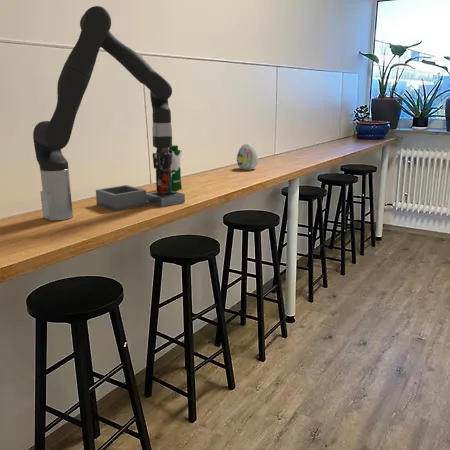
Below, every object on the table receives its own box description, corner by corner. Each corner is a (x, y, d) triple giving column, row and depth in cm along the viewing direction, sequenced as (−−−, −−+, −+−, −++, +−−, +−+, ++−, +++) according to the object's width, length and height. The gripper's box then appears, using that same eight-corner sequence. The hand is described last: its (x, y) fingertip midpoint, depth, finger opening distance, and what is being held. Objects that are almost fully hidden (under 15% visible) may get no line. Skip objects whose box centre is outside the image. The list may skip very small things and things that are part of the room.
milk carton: (172, 192, 200) (171, 147, 195) (157, 190, 205) (155, 145, 199) (184, 189, 208) (183, 145, 202) (168, 186, 212) (167, 144, 206)
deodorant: (173, 190, 183) (172, 153, 179) (169, 193, 178) (168, 155, 173) (159, 189, 184) (157, 152, 180) (154, 192, 179) (153, 154, 174)
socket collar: (161, 207, 175) (161, 198, 174) (144, 202, 183) (144, 193, 182) (184, 202, 182) (184, 193, 181) (167, 197, 190) (167, 189, 189)
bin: (115, 211, 168) (114, 195, 167) (96, 204, 178) (95, 189, 176) (146, 205, 178) (146, 190, 176) (127, 199, 187) (126, 185, 186)
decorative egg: (232, 168, 263) (232, 142, 259) (247, 166, 271) (247, 141, 267) (247, 171, 254) (247, 144, 250) (262, 169, 262) (262, 143, 258)
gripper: (160, 133, 182) (162, 174, 187) (145, 135, 169) (146, 180, 174) (178, 133, 180) (178, 175, 185) (163, 136, 167) (164, 181, 172)
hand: (163, 177), depth 179 cm, fingers closed on deodorant, 6 cm apart
